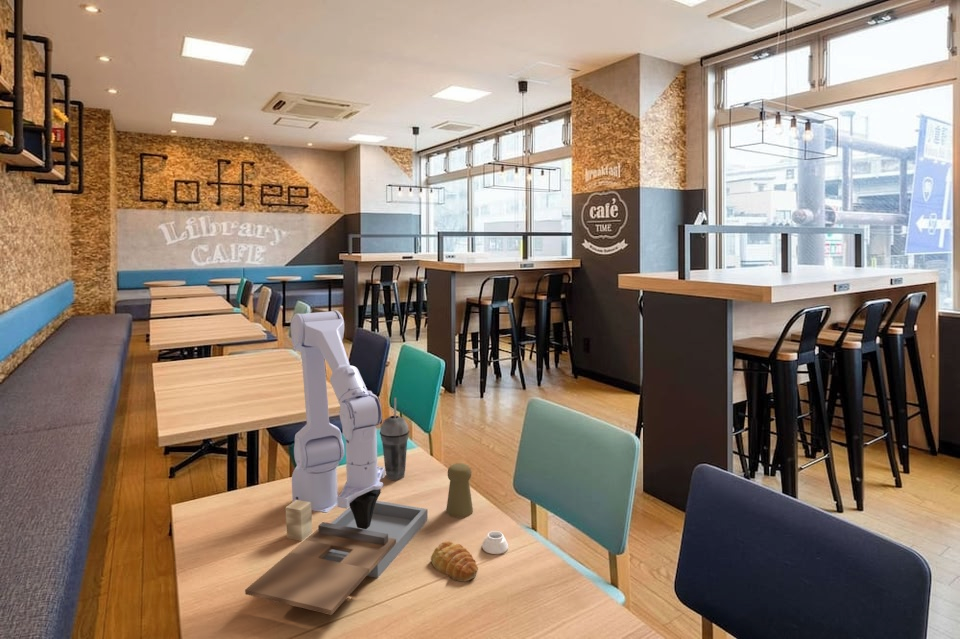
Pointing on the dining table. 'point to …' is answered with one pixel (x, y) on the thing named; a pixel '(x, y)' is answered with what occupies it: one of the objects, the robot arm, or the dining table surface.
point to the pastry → (454, 561)
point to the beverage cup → (394, 445)
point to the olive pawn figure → (459, 491)
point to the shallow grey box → (385, 529)
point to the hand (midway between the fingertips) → (363, 526)
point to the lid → (323, 568)
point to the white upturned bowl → (495, 543)
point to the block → (299, 520)
